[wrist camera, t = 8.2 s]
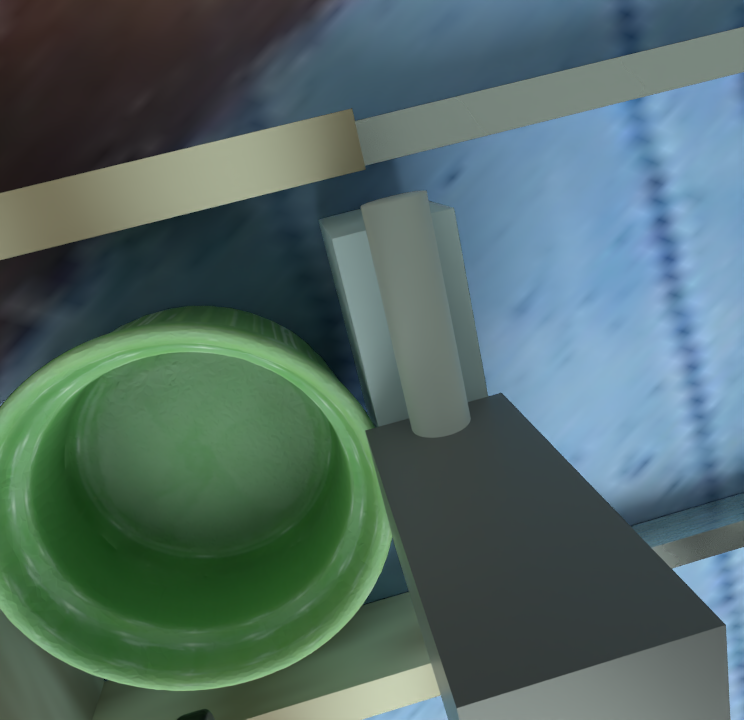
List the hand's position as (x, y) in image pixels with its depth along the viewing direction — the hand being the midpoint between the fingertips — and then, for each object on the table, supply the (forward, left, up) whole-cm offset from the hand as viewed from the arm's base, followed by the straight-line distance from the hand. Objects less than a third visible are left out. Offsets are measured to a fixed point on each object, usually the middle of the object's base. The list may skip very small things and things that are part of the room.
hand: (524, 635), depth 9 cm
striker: (0, 0, -10) cm, 10 cm away
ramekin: (+5, 0, -10) cm, 11 cm away
